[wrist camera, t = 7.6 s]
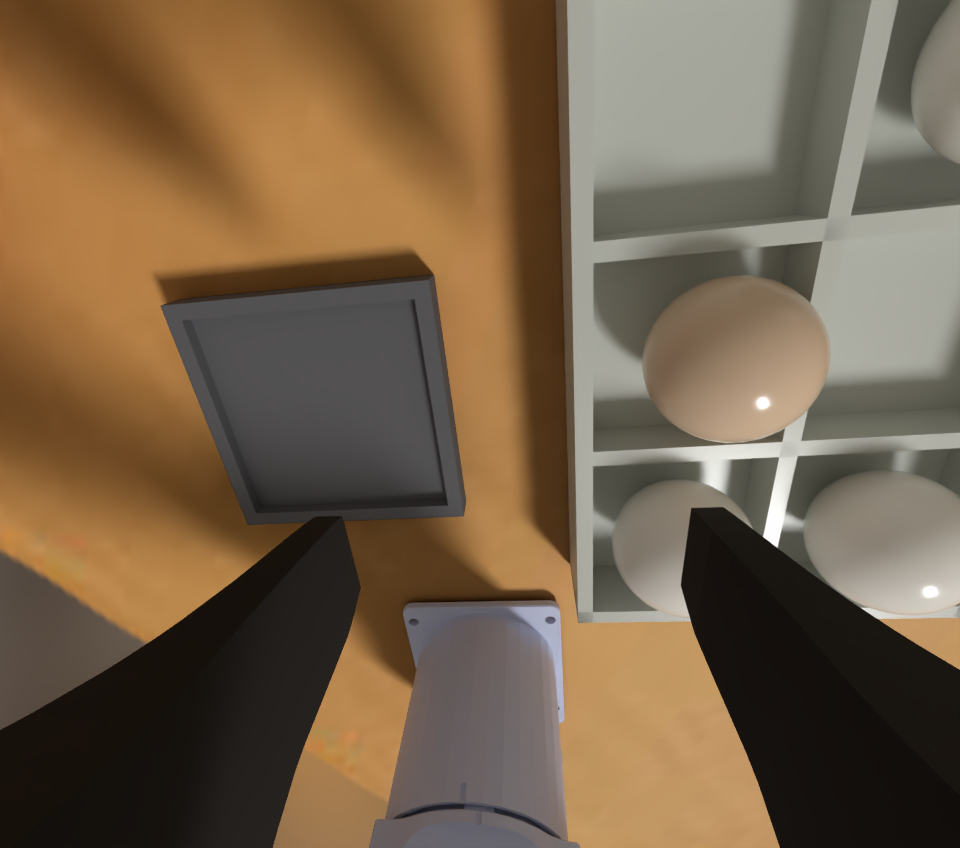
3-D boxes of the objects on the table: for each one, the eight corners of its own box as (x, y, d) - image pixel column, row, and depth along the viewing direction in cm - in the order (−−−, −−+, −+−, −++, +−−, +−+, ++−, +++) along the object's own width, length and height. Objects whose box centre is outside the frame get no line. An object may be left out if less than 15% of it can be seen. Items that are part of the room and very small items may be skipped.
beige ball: (727, 393, 18) (852, 450, 14) (610, 420, 17) (707, 490, 13) (745, 257, 16) (901, 273, 12) (613, 278, 15) (731, 305, 11)
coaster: (466, 501, 22) (463, 516, 21) (259, 510, 23) (247, 524, 22) (433, 274, 17) (429, 279, 16) (179, 299, 18) (160, 305, 17)
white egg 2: (894, 544, 20) (1002, 648, 15) (768, 548, 20) (838, 649, 16) (931, 441, 18) (1070, 526, 13) (790, 448, 18) (878, 532, 14)
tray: (905, 556, 21) (971, 618, 18) (570, 565, 23) (578, 623, 20) (1169, -142, 11) (1404, -261, 8) (554, -39, 13) (565, -108, 10)
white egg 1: (718, 550, 21) (772, 649, 16) (601, 553, 21) (623, 650, 17) (733, 451, 19) (801, 534, 14) (602, 457, 19) (628, 540, 15)
